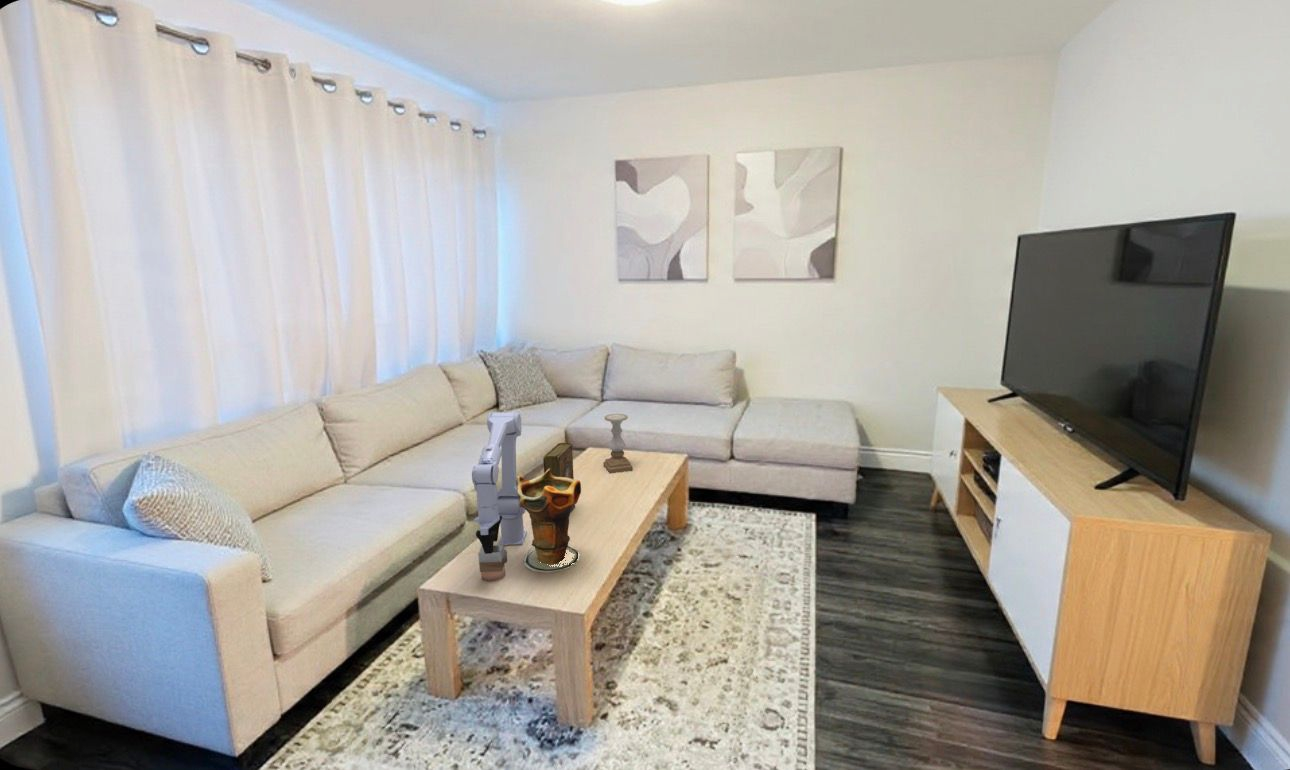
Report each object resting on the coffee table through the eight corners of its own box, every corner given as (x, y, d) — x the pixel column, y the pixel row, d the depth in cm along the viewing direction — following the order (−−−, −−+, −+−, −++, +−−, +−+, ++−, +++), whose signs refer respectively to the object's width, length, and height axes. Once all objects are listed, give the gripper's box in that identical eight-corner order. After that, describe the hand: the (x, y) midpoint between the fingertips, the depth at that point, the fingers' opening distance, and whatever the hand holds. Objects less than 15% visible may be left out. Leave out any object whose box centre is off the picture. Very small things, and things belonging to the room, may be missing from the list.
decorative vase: (550, 534, 205) (548, 456, 198) (599, 557, 191) (599, 474, 184) (500, 558, 189) (496, 475, 182) (550, 585, 175) (547, 496, 168)
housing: (482, 564, 181) (481, 546, 180) (504, 563, 182) (503, 545, 180) (479, 572, 177) (478, 553, 176) (502, 570, 177) (500, 552, 176)
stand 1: (484, 570, 183) (483, 562, 182) (507, 568, 183) (506, 561, 183) (479, 582, 176) (478, 574, 176) (503, 580, 176) (502, 573, 176)
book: (562, 505, 230) (559, 442, 225) (576, 506, 229) (573, 443, 224) (547, 523, 214) (543, 456, 209) (561, 524, 213) (558, 457, 208)
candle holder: (603, 465, 273) (601, 414, 268) (626, 462, 276) (624, 412, 271) (609, 473, 263) (607, 420, 258) (633, 470, 266) (631, 418, 261)
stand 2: (486, 555, 192) (486, 548, 191) (509, 554, 192) (508, 547, 192) (482, 566, 185) (481, 559, 184) (505, 565, 185) (504, 558, 185)
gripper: (479, 494, 182) (482, 536, 185) (467, 514, 168) (471, 559, 171) (502, 493, 182) (505, 535, 185) (493, 513, 168) (497, 558, 171)
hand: (491, 546), depth 178 cm, fingers open, 7 cm apart
